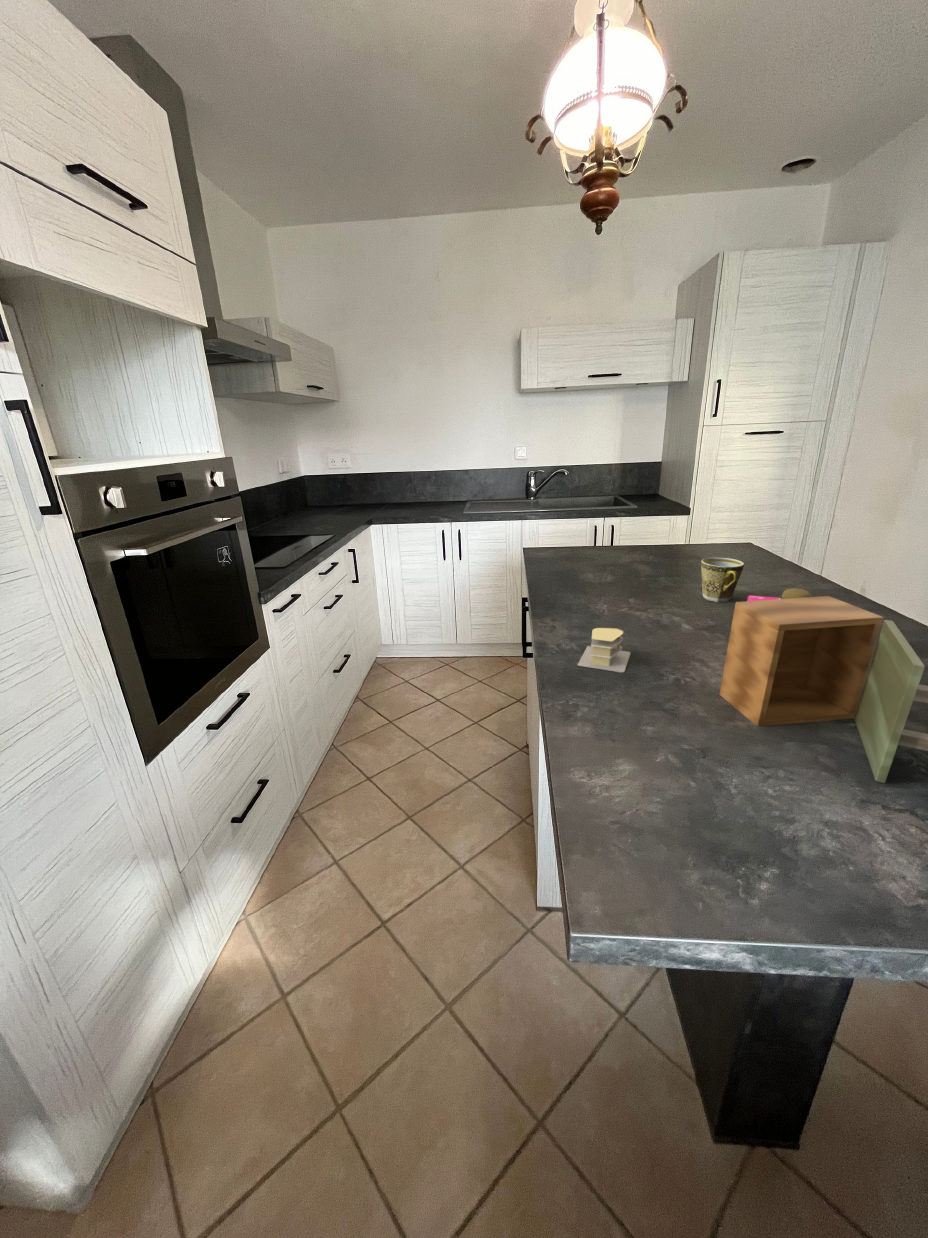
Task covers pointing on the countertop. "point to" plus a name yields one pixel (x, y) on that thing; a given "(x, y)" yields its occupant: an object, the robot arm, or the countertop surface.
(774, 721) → the cupboard
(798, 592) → the olive rounded oblong
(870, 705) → the door
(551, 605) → the countertop surface
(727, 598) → the ceramic cup
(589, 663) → the stacked layers on plate
